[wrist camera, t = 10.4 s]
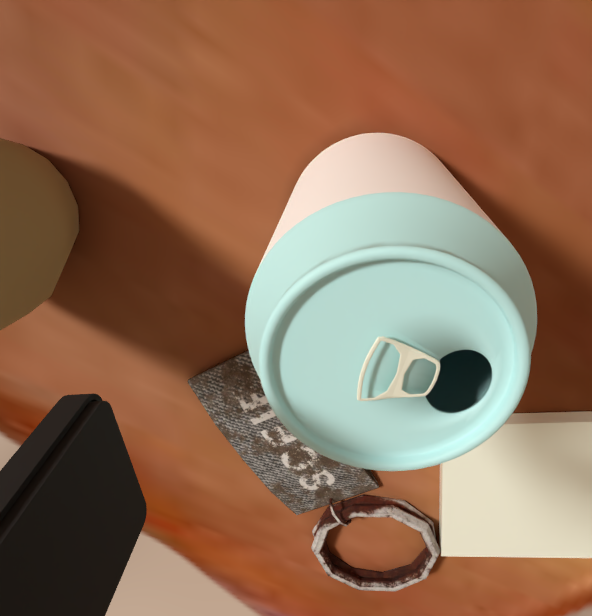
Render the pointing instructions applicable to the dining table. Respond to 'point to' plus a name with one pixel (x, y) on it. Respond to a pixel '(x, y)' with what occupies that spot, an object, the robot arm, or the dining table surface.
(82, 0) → the dining table surface
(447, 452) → the can
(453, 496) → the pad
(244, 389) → the keychain
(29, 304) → the squeeze bottle
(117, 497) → the robot arm
